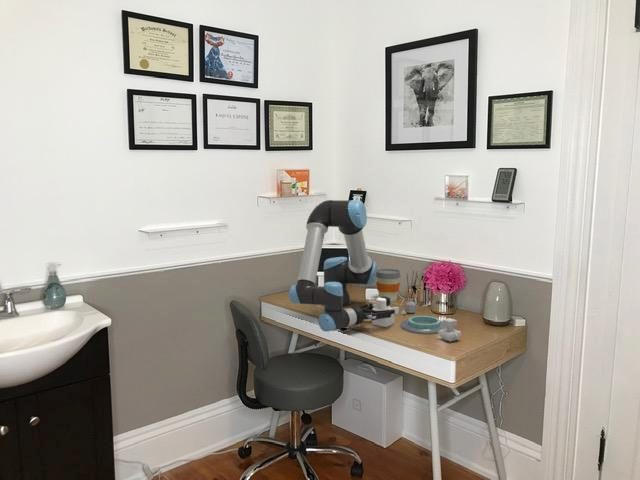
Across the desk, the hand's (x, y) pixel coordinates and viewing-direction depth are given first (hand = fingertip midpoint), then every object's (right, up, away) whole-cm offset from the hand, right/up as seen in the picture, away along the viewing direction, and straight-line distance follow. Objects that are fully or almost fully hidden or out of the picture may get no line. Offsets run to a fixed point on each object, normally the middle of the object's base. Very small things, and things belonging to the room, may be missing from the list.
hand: (390, 307), depth 239 cm
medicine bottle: (-4, -7, -2) cm, 8 cm away
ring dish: (+13, -8, -6) cm, 17 cm away
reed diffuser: (+11, -5, +14) cm, 19 cm away
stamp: (+20, -10, -24) cm, 33 cm away
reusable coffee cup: (+4, -1, +41) cm, 41 cm away
